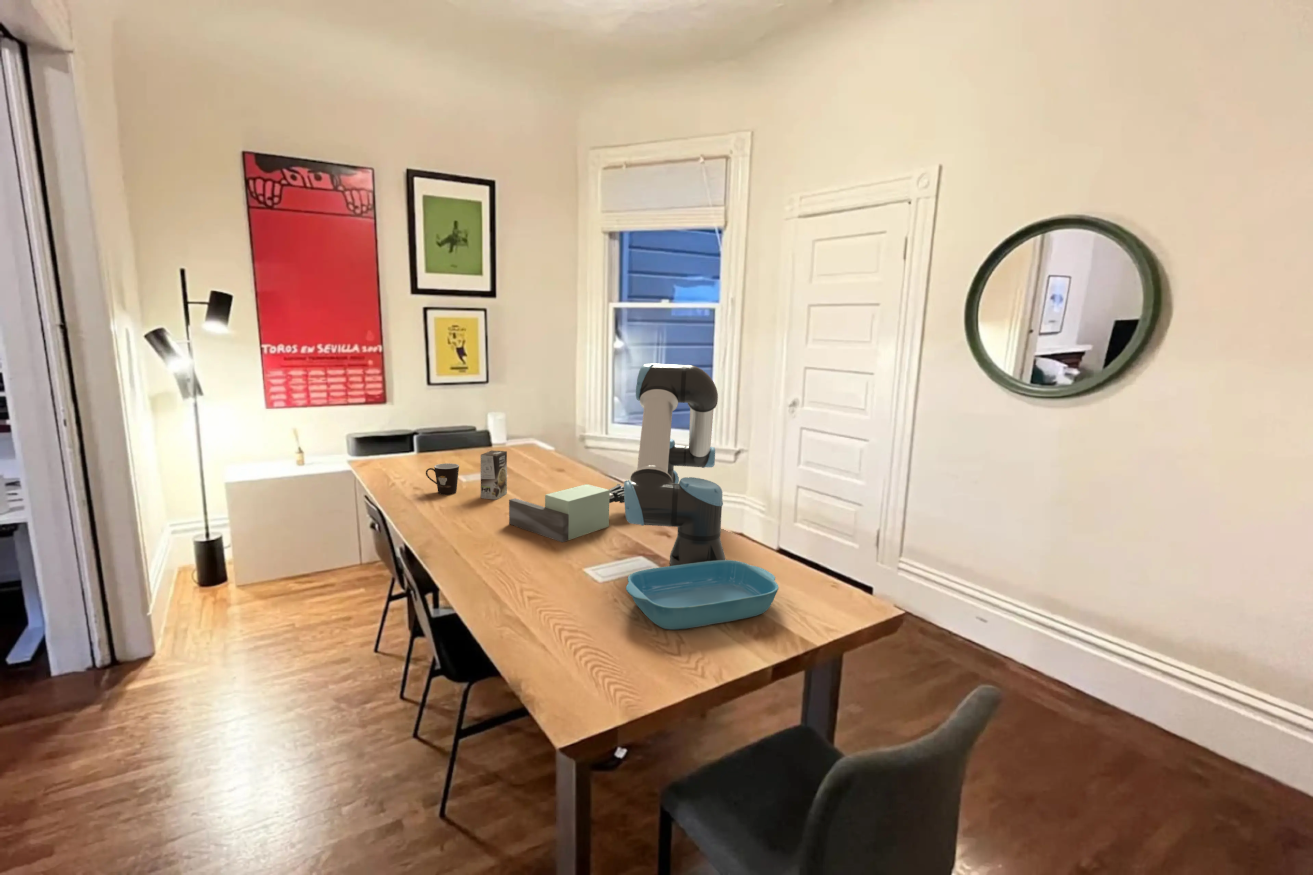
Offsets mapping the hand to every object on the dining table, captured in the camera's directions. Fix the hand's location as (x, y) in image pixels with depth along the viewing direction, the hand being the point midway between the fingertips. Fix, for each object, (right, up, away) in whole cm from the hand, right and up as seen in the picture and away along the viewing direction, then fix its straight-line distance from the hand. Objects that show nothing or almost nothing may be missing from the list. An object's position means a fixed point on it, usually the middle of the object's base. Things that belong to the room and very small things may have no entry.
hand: (597, 501), depth 204 cm
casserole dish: (+29, -19, -57) cm, 67 cm away
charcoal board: (-17, -8, -10) cm, 22 cm away
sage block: (-6, -8, -6) cm, 12 cm away
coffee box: (-40, -1, +27) cm, 48 cm away
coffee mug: (-59, +1, +30) cm, 66 cm away
